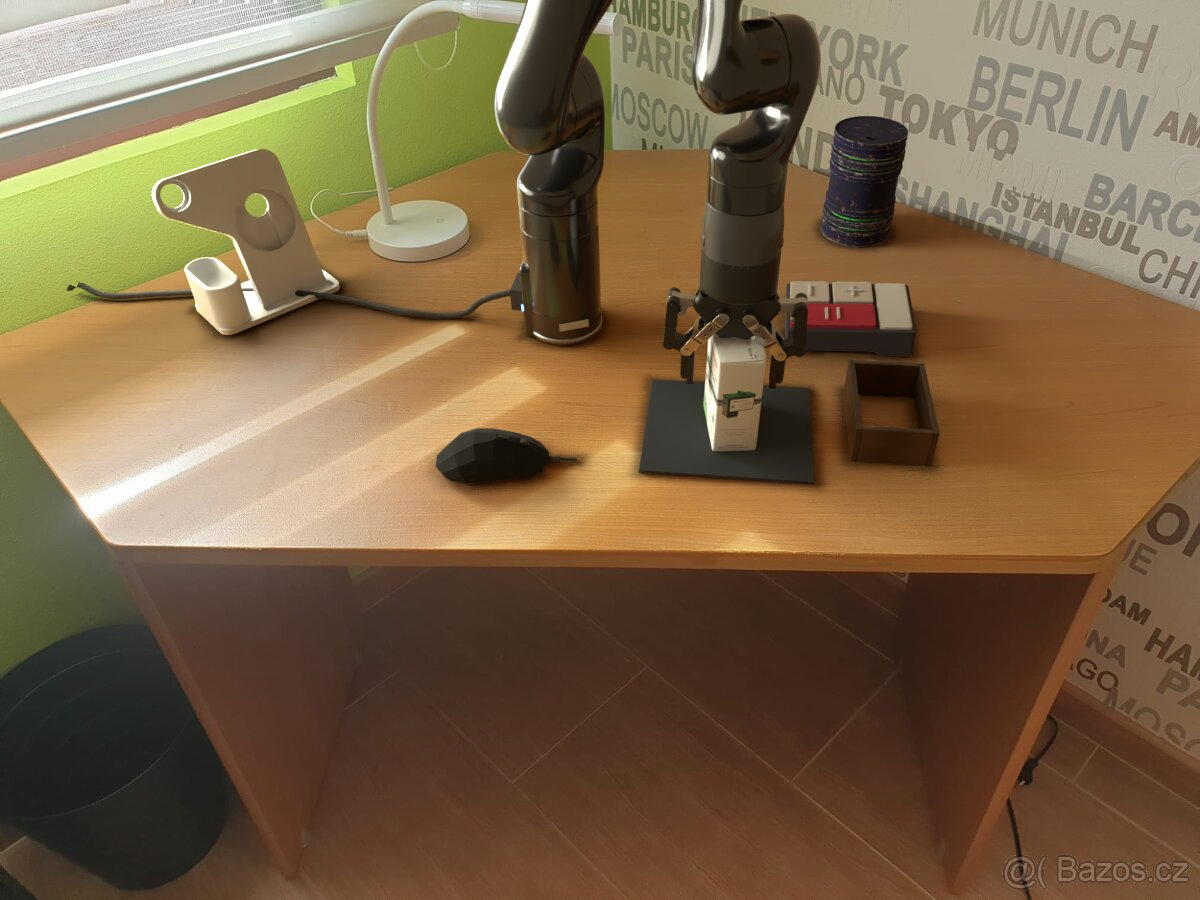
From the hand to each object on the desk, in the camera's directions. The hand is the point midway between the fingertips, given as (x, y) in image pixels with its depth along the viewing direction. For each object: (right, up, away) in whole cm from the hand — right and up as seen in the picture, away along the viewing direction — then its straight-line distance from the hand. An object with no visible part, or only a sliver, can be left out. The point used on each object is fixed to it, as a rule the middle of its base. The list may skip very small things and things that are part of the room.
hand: (730, 381), depth 100 cm
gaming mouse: (-24, -9, +1) cm, 25 cm away
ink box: (0, -5, +4) cm, 6 cm away
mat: (0, -5, +4) cm, 7 cm away
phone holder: (-58, +13, +28) cm, 66 cm away
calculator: (+17, +8, +19) cm, 26 cm away
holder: (+17, -5, +4) cm, 18 cm away
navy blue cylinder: (+23, +24, +38) cm, 51 cm away
